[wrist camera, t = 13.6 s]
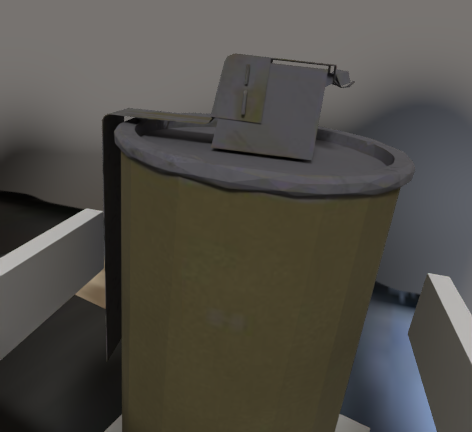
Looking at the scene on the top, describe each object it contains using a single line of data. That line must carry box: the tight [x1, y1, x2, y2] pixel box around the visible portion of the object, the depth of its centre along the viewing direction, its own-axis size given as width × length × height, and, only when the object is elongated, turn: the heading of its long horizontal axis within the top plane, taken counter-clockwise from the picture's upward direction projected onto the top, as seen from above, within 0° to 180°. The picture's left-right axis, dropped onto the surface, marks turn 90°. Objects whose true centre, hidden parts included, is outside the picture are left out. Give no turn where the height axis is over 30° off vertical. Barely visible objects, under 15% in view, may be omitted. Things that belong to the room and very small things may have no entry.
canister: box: [102, 54, 415, 432], centre depth 17 cm, size 11×10×20 cm
